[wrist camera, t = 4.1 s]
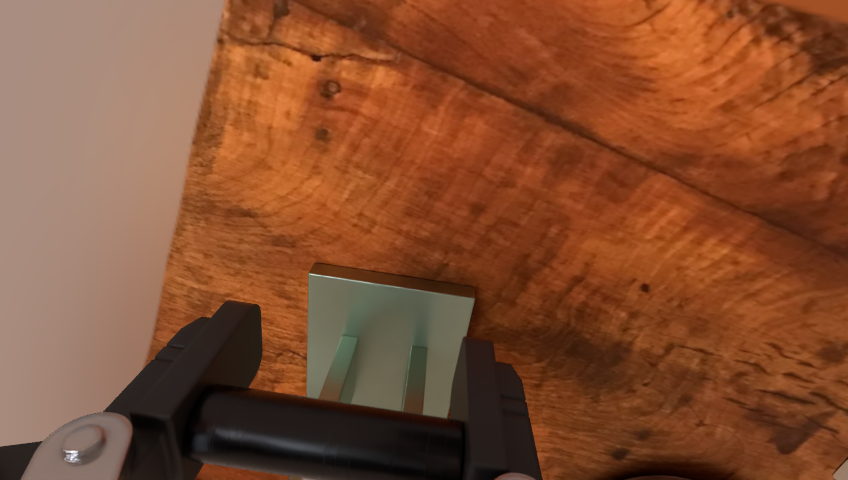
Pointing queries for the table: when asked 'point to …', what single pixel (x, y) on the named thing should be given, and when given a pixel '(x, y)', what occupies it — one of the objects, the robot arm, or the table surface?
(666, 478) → the saucer
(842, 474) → the button box
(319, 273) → the bracket
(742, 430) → the table surface
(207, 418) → the tap handle
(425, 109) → the table surface
